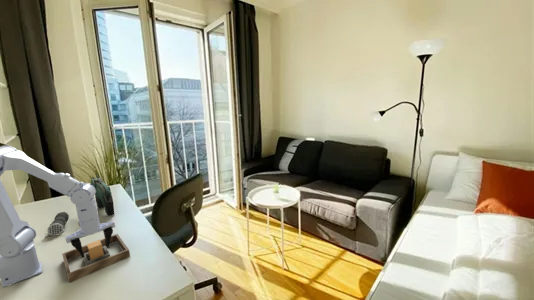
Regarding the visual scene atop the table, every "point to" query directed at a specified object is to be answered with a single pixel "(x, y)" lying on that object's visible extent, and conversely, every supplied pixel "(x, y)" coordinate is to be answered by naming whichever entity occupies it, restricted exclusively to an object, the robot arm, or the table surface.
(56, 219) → the flashlight
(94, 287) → the table surface
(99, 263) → the walled box
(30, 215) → the table surface
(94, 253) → the block
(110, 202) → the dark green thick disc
